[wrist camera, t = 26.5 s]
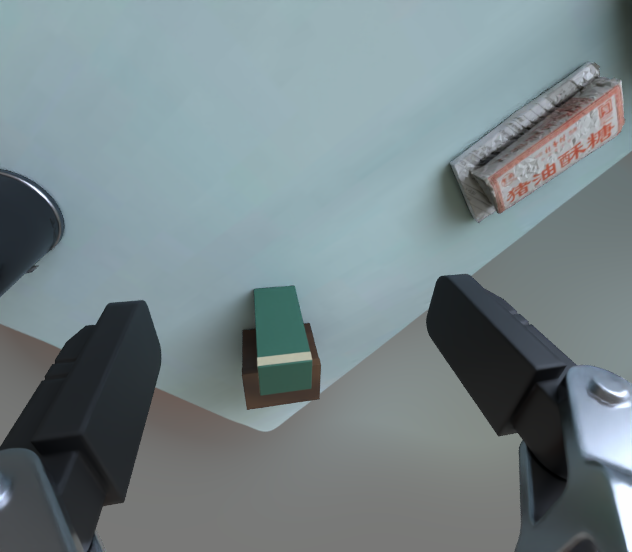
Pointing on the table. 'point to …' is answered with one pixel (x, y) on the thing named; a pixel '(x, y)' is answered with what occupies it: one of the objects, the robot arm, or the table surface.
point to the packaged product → (540, 141)
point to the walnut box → (252, 379)
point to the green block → (281, 342)
